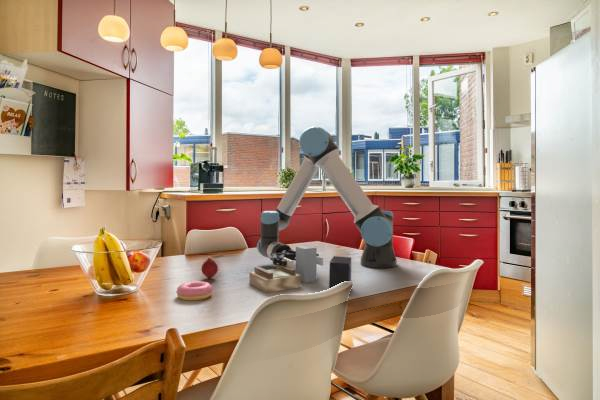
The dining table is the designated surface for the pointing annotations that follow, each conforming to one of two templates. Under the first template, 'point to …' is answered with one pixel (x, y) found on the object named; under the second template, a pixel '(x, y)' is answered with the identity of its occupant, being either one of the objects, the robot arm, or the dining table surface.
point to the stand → (275, 278)
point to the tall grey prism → (306, 263)
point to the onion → (209, 268)
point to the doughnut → (194, 290)
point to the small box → (339, 270)
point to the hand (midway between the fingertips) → (307, 263)
